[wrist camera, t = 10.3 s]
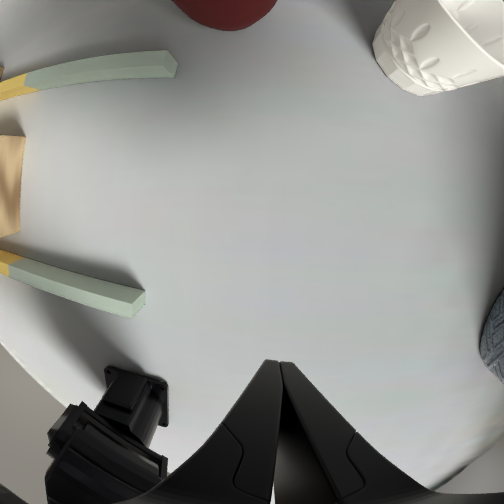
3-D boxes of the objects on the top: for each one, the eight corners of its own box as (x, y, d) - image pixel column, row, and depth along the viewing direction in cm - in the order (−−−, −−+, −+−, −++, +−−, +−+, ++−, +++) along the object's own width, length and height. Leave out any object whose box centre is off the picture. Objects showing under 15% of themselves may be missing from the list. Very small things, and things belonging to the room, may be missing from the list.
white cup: (455, 109, 16) (541, 89, 6) (375, 98, 16) (454, 47, 7) (434, 30, 14) (498, -15, 4) (355, 13, 14) (400, -61, 5)
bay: (144, 304, 21) (132, 318, 18) (-33, 246, 21) (-46, 250, 18) (178, 63, 16) (167, 50, 14) (-22, 99, 16) (-36, 97, 14)
